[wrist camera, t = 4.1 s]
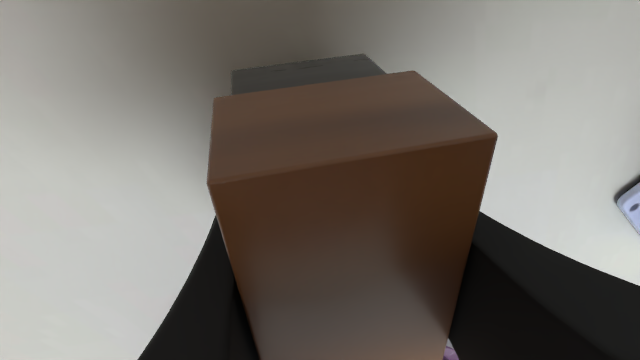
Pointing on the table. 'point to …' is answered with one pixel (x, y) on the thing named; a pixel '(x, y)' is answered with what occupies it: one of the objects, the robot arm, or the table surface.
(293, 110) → the tall brown wooden block
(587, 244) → the table surface
